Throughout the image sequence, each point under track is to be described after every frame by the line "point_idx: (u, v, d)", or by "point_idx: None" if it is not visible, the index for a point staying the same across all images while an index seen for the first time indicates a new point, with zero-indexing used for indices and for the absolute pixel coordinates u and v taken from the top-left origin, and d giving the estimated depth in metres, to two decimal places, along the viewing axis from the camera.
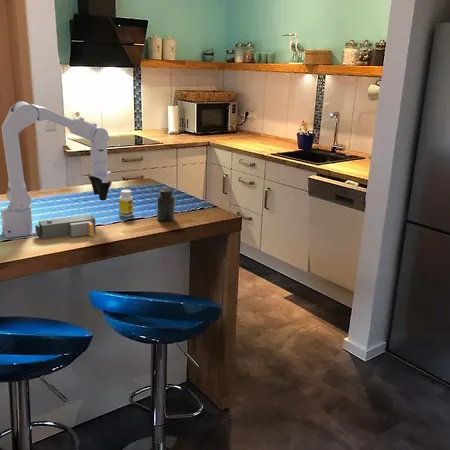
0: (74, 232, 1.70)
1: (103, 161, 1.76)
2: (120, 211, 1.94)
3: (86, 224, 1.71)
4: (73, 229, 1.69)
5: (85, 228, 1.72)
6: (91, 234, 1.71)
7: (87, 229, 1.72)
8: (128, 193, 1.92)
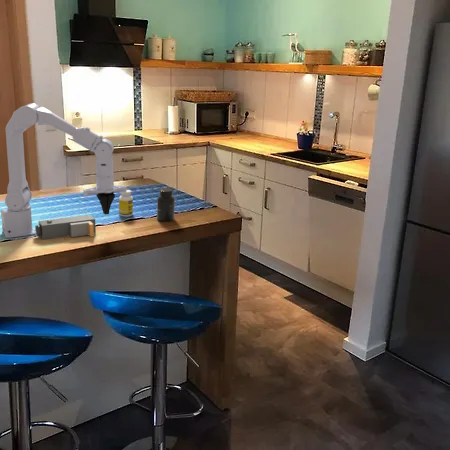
0: (74, 232, 1.70)
1: (106, 176, 1.66)
2: (120, 211, 1.94)
3: (86, 224, 1.71)
4: (73, 229, 1.69)
5: (85, 228, 1.72)
6: (91, 234, 1.71)
7: (87, 229, 1.72)
8: (128, 193, 1.92)
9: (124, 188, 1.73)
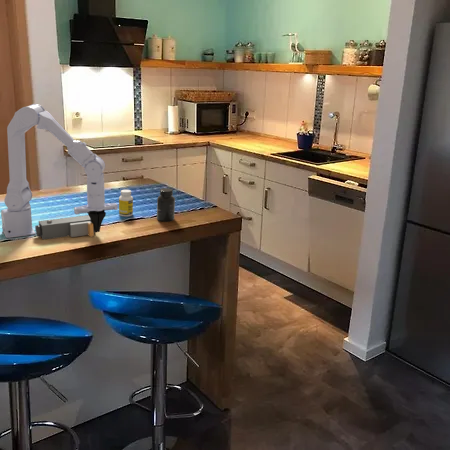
0: (74, 232, 1.70)
1: (96, 195, 1.66)
2: (120, 211, 1.94)
3: (86, 224, 1.71)
4: (73, 229, 1.69)
5: (85, 228, 1.72)
6: (91, 234, 1.71)
7: (87, 229, 1.72)
8: (128, 193, 1.92)
9: (115, 206, 1.73)
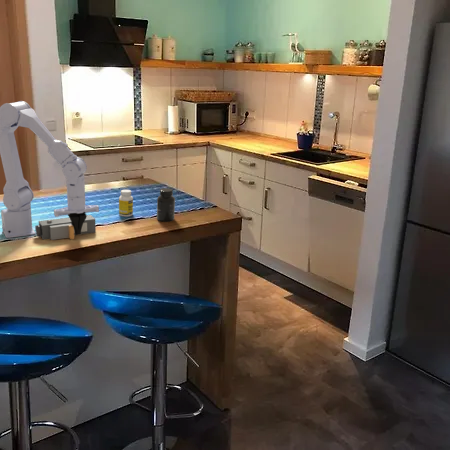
0: (54, 235, 1.67)
1: (74, 197, 1.63)
2: (120, 211, 1.94)
3: (66, 227, 1.68)
4: (53, 231, 1.66)
5: (65, 231, 1.68)
6: (71, 237, 1.68)
7: (67, 232, 1.69)
8: (128, 193, 1.92)
9: (96, 208, 1.69)
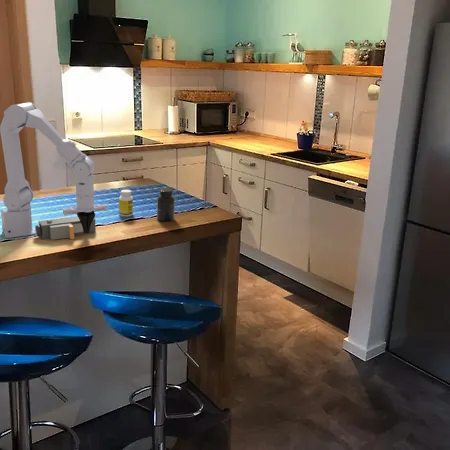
0: (54, 235, 1.67)
1: (84, 195, 1.63)
2: (120, 211, 1.94)
3: (66, 227, 1.68)
4: (53, 231, 1.66)
5: (65, 231, 1.68)
6: (71, 237, 1.68)
7: (67, 232, 1.69)
8: (128, 193, 1.92)
9: (105, 207, 1.70)
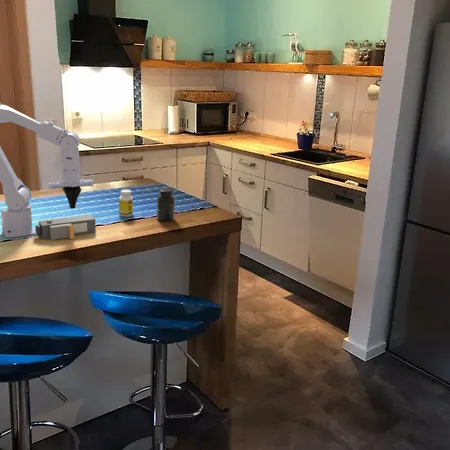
0: (54, 235, 1.67)
1: (71, 170, 1.65)
2: (120, 211, 1.94)
3: (66, 227, 1.68)
4: (53, 231, 1.66)
5: (65, 231, 1.68)
6: (71, 237, 1.68)
7: (67, 232, 1.69)
8: (128, 193, 1.92)
9: (91, 182, 1.71)
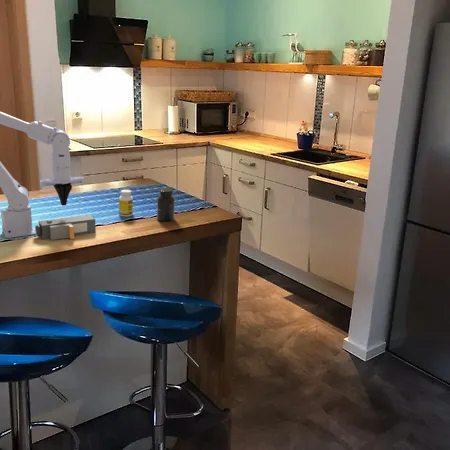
0: (54, 235, 1.67)
1: (64, 167, 1.67)
2: (120, 211, 1.94)
3: (66, 227, 1.68)
4: (53, 231, 1.66)
5: (65, 231, 1.68)
6: (71, 237, 1.68)
7: (67, 232, 1.69)
8: (128, 193, 1.92)
9: (82, 179, 1.74)
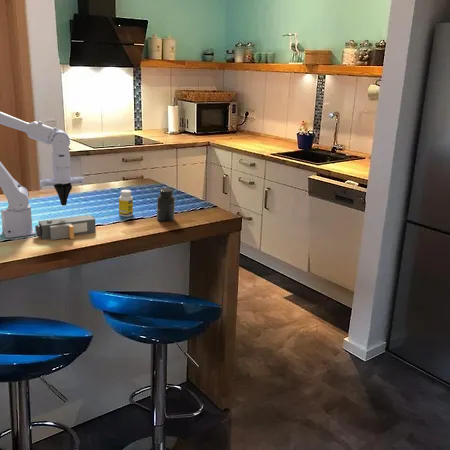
0: (54, 235, 1.67)
1: (64, 167, 1.67)
2: (120, 211, 1.94)
3: (66, 227, 1.68)
4: (53, 231, 1.66)
5: (65, 231, 1.68)
6: (71, 237, 1.68)
7: (67, 232, 1.69)
8: (128, 193, 1.92)
9: (82, 179, 1.74)
